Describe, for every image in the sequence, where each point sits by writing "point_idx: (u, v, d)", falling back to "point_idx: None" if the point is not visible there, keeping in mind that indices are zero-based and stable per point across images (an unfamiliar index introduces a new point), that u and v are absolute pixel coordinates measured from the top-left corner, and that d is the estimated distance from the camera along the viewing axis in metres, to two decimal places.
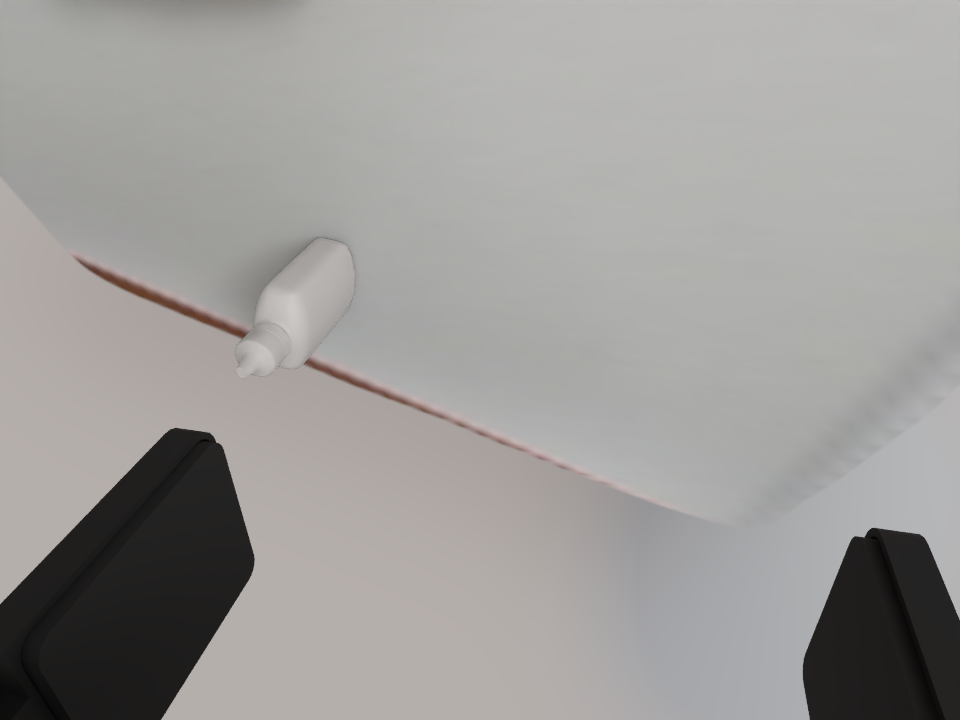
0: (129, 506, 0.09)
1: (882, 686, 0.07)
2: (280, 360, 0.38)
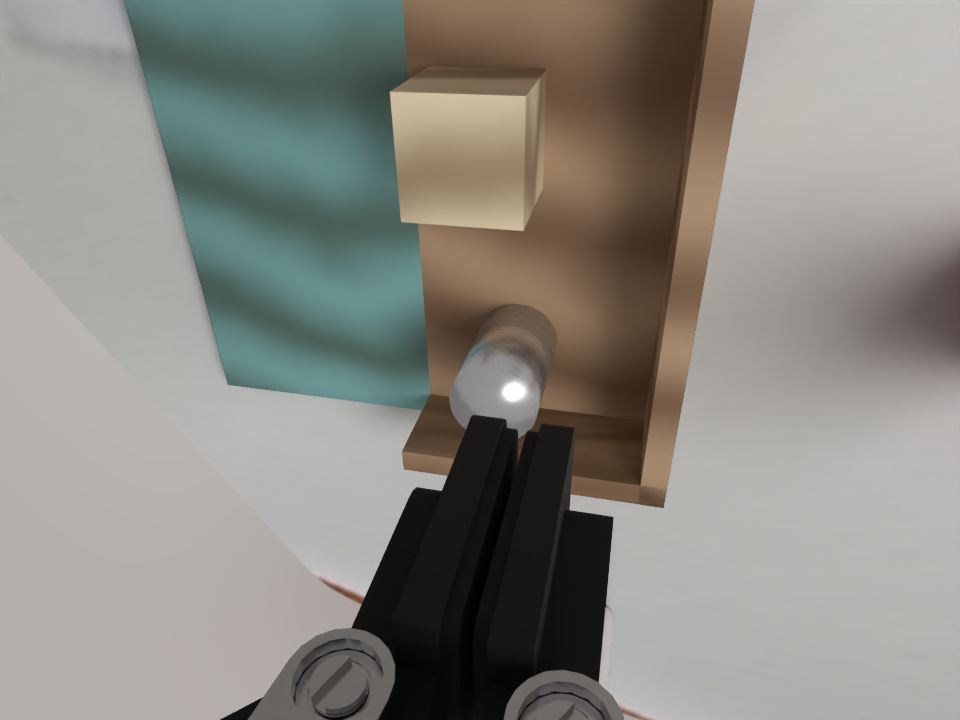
0: (474, 489, 0.09)
1: None
2: None
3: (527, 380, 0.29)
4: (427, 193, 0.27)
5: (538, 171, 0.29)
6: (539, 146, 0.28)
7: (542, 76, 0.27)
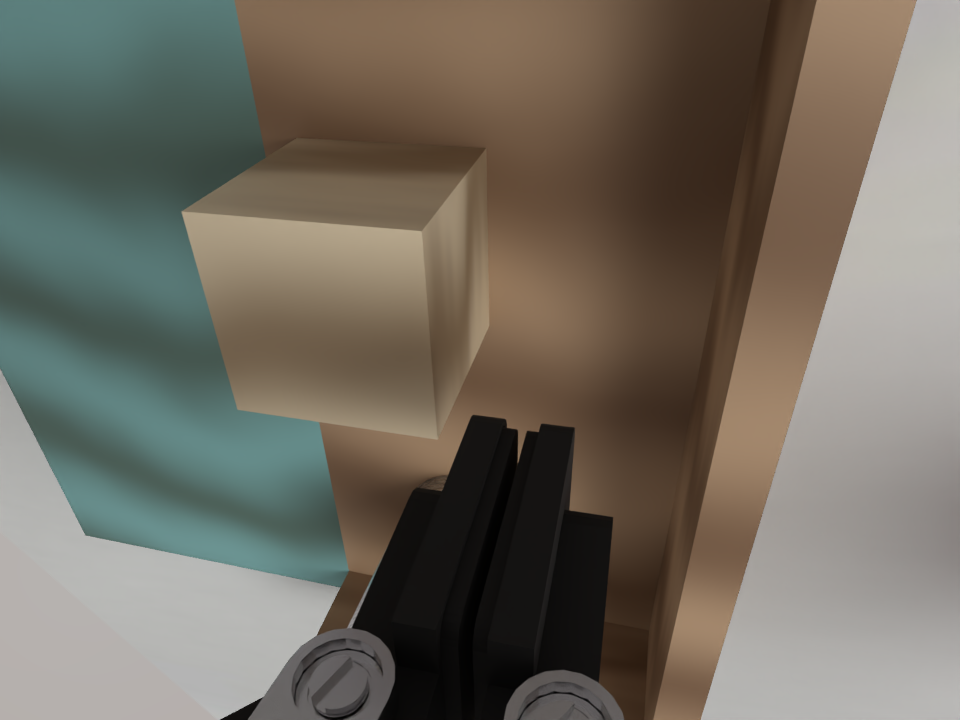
0: (474, 489, 0.09)
1: None
2: None
3: None
4: (272, 373, 0.15)
5: (475, 314, 0.17)
6: (474, 276, 0.17)
7: (474, 166, 0.16)
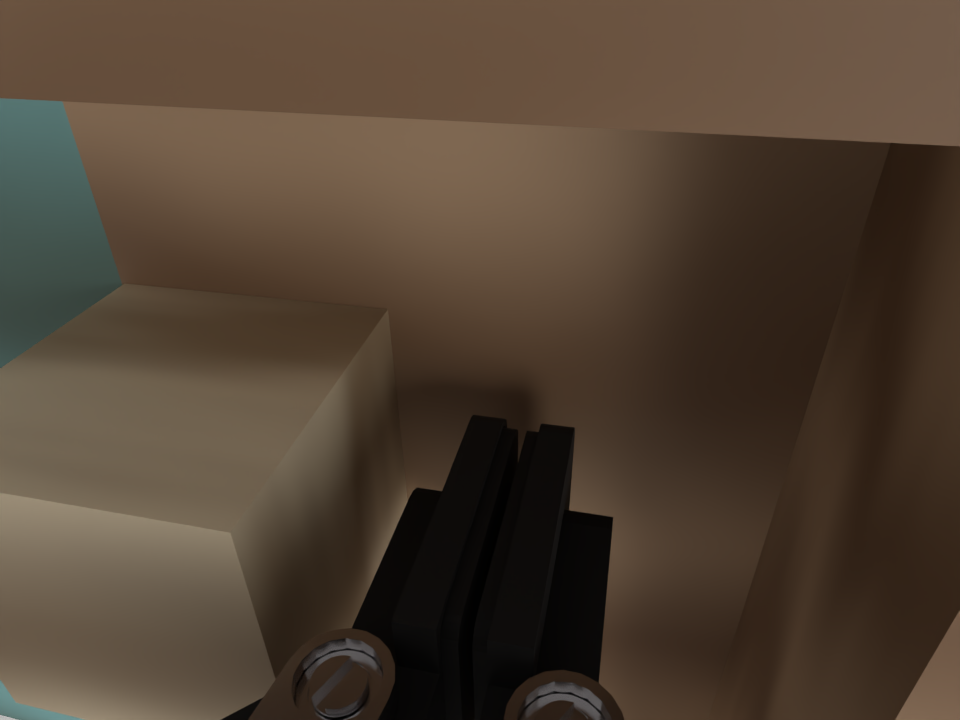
0: (474, 489, 0.09)
1: None
2: None
3: None
4: (51, 671, 0.10)
5: (379, 535, 0.12)
6: (374, 490, 0.12)
7: (363, 348, 0.10)
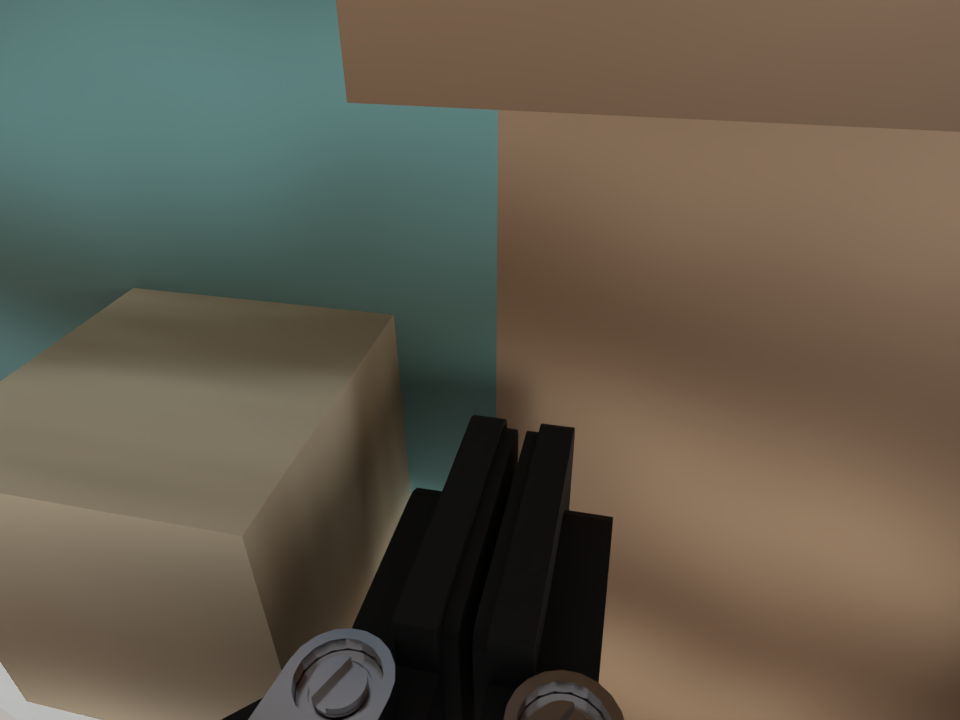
0: (475, 489, 0.09)
1: None
2: None
3: None
4: (62, 670, 0.10)
5: (384, 537, 0.12)
6: (380, 492, 0.12)
7: (370, 353, 0.11)
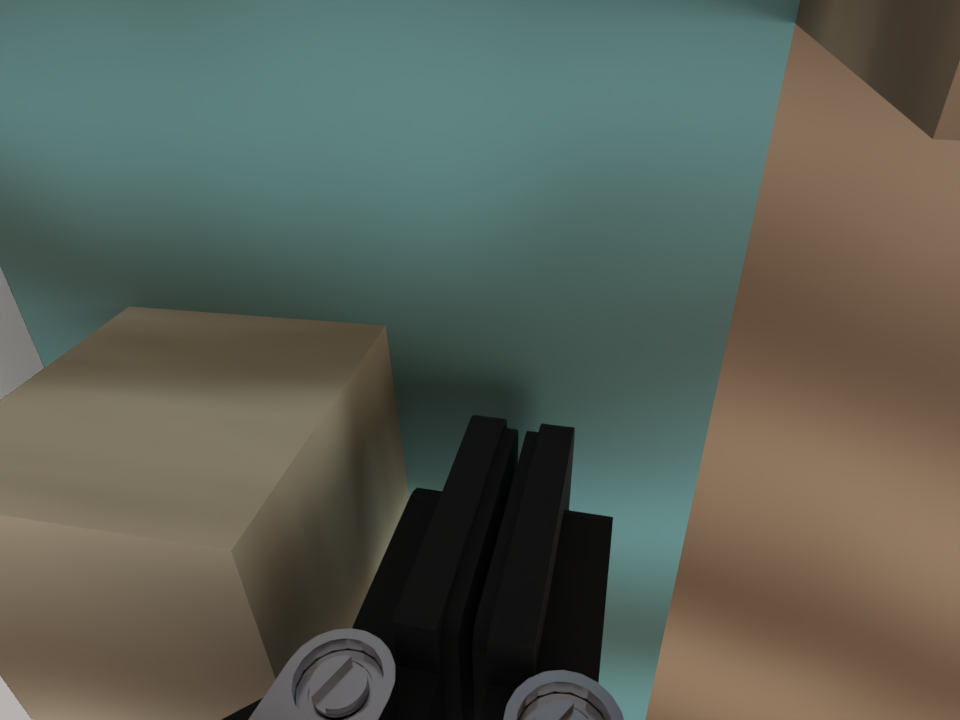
0: (475, 489, 0.09)
1: None
2: None
3: None
4: (63, 688, 0.10)
5: (382, 547, 0.12)
6: (376, 503, 0.12)
7: (361, 365, 0.11)
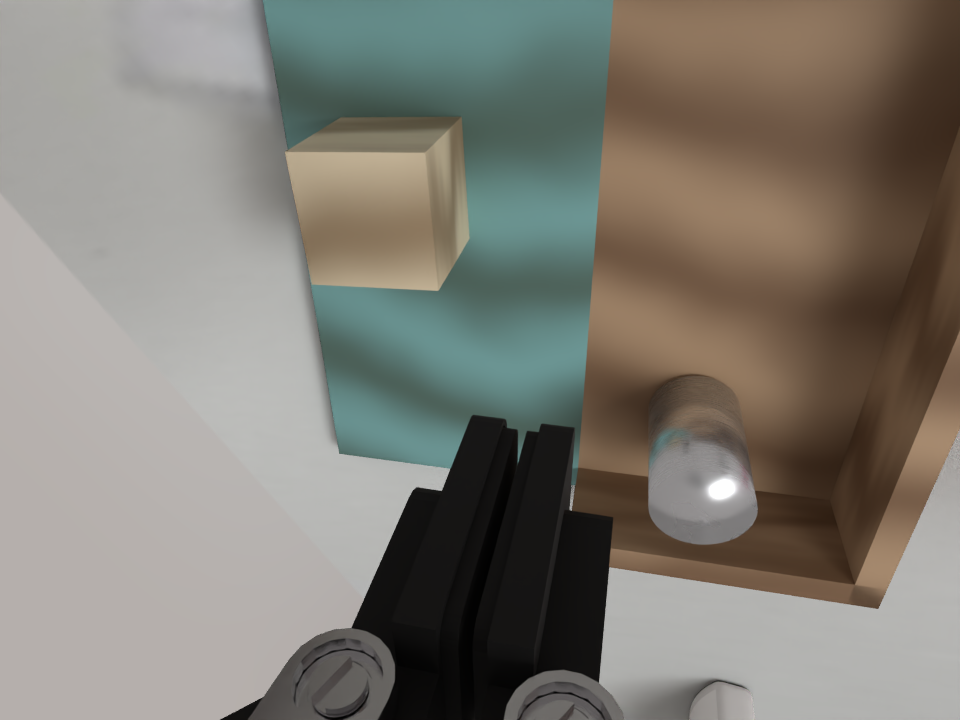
0: (474, 489, 0.09)
1: None
2: None
3: (737, 475, 0.25)
4: (335, 255, 0.25)
5: (459, 223, 0.27)
6: (457, 198, 0.27)
7: (454, 125, 0.25)
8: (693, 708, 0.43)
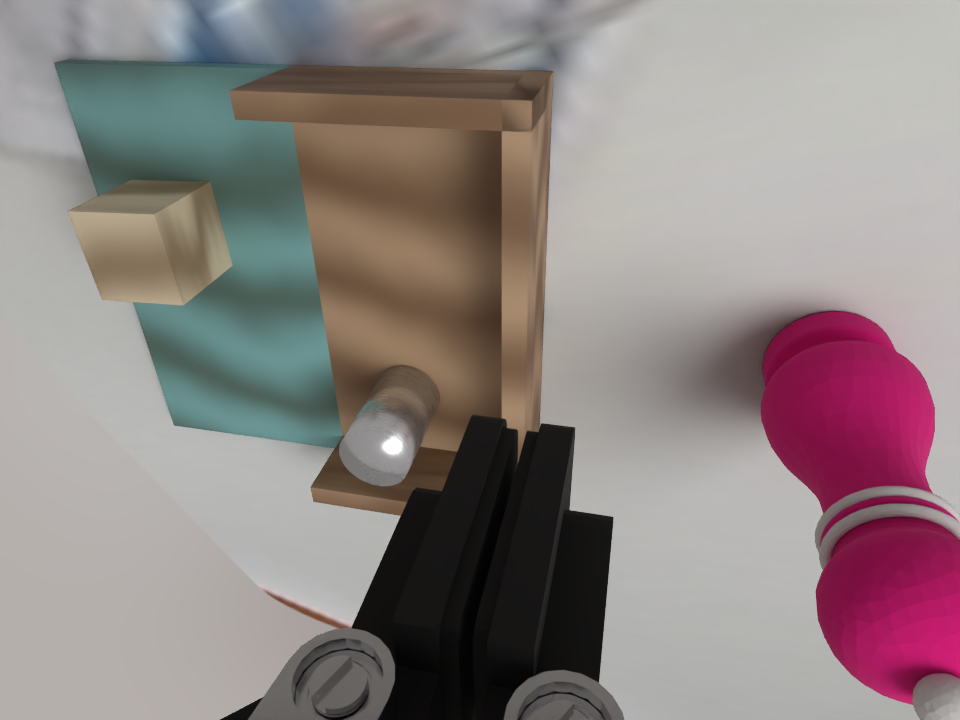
0: (474, 489, 0.09)
1: None
2: None
3: (385, 433, 0.36)
4: (113, 280, 0.36)
5: (213, 256, 0.38)
6: (209, 238, 0.38)
7: (199, 189, 0.36)
8: None
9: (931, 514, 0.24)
